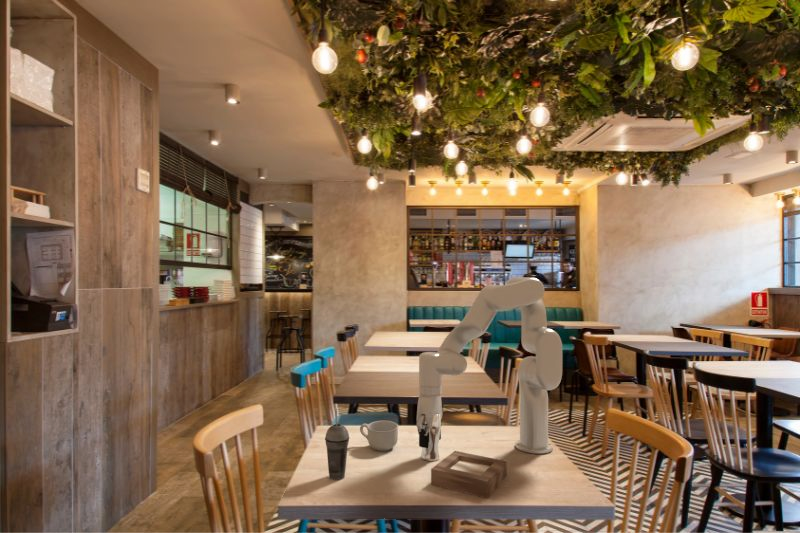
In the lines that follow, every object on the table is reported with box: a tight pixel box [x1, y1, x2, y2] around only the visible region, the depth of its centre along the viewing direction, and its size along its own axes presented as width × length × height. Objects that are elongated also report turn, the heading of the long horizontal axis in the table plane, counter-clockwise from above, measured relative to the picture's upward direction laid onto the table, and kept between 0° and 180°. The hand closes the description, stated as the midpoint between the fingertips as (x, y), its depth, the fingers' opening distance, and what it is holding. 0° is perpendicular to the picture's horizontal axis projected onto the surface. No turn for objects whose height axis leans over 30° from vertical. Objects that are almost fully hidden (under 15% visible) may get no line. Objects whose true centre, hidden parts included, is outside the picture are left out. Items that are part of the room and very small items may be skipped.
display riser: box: [430, 450, 508, 499], centre depth 146 cm, size 17×17×4 cm
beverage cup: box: [324, 408, 350, 481], centre depth 148 cm, size 7×7×20 cm
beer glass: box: [420, 412, 442, 462], centre depth 164 cm, size 7×7×15 cm
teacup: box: [359, 420, 399, 452], centre depth 174 cm, size 14×11×8 cm
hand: (430, 442), depth 164 cm, fingers open, 8 cm apart
